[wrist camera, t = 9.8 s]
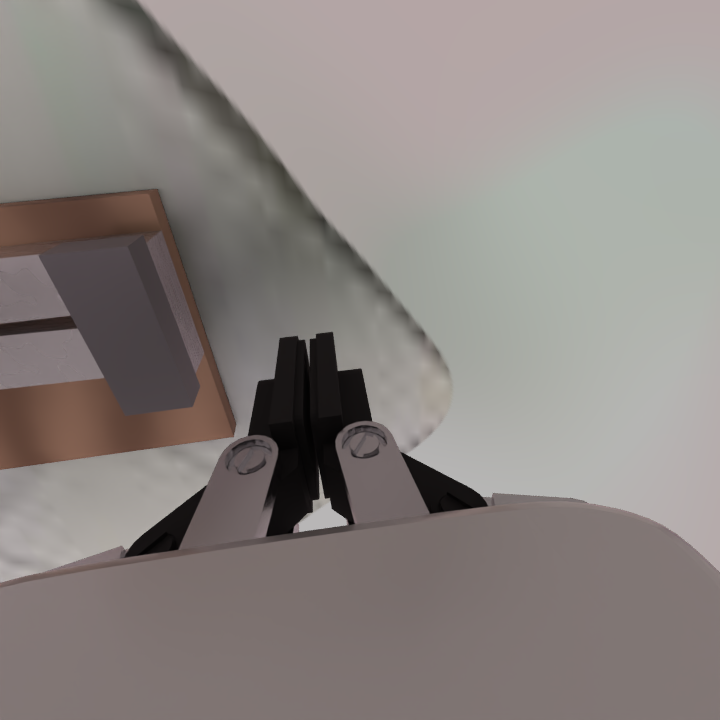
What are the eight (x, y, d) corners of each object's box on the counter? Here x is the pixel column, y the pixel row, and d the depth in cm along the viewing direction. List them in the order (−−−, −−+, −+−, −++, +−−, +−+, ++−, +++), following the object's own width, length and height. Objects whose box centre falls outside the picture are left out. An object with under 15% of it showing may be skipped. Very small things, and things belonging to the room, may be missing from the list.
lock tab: (138, 394, 19) (125, 416, 17) (62, 242, 14) (37, 255, 13) (200, 386, 19) (192, 406, 17) (143, 234, 15) (127, 246, 13)
